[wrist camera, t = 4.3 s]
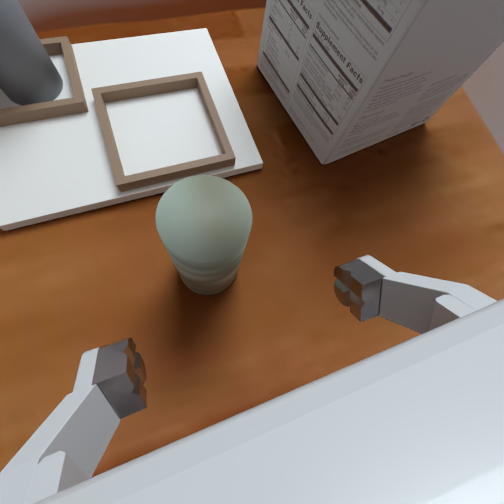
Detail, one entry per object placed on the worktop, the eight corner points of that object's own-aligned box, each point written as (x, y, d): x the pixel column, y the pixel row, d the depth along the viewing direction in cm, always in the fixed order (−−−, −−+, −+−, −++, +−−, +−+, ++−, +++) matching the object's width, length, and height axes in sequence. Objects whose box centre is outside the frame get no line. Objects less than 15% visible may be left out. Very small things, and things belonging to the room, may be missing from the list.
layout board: (4, 231, 20) (-169, 138, 11) (-19, 65, 24) (-162, -106, 15) (261, 168, 25) (289, 64, 16) (206, 36, 29) (203, -110, 19)
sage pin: (188, 303, 21) (170, 275, 12) (172, 248, 22) (144, 187, 13) (245, 284, 22) (265, 245, 13) (226, 232, 23) (234, 166, 14)
